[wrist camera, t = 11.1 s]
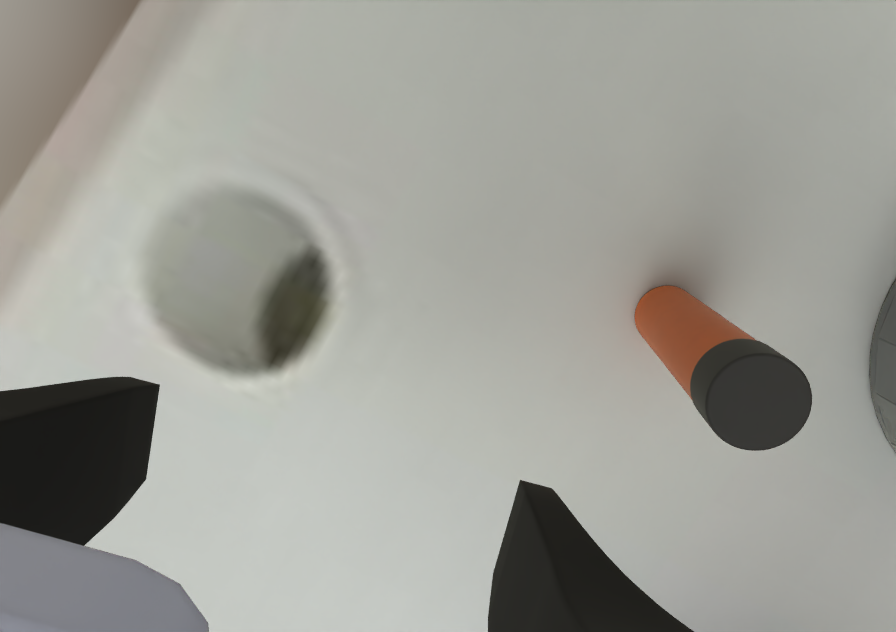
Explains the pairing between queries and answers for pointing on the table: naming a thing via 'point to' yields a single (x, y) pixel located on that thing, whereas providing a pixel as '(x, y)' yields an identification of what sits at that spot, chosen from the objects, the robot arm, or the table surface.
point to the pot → (885, 367)
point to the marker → (725, 370)
